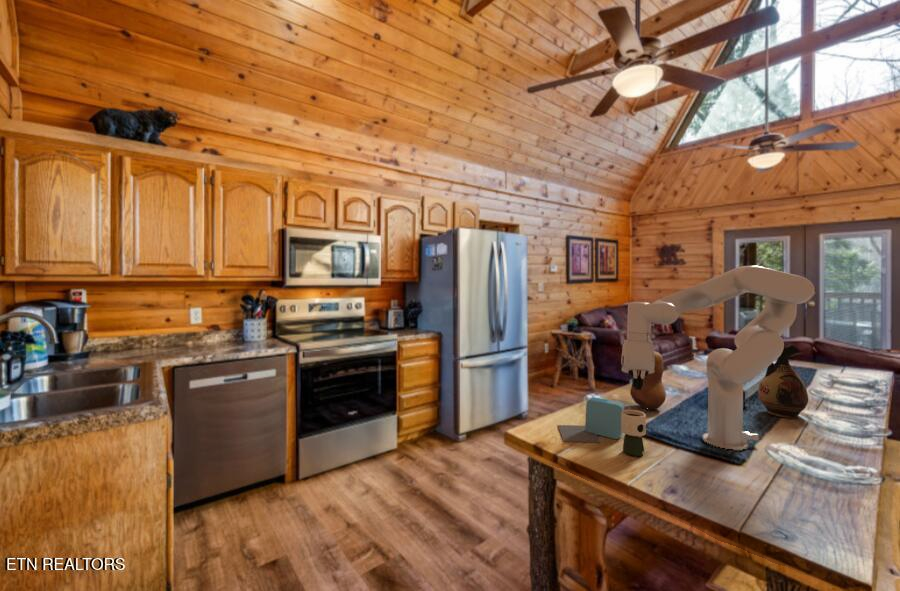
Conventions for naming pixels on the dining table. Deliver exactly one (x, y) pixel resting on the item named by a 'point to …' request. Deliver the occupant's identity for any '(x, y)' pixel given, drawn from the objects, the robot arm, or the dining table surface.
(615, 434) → the data package
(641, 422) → the character mug
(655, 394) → the butternut squash
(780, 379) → the ceramic jug
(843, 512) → the dining table surface
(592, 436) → the mat
